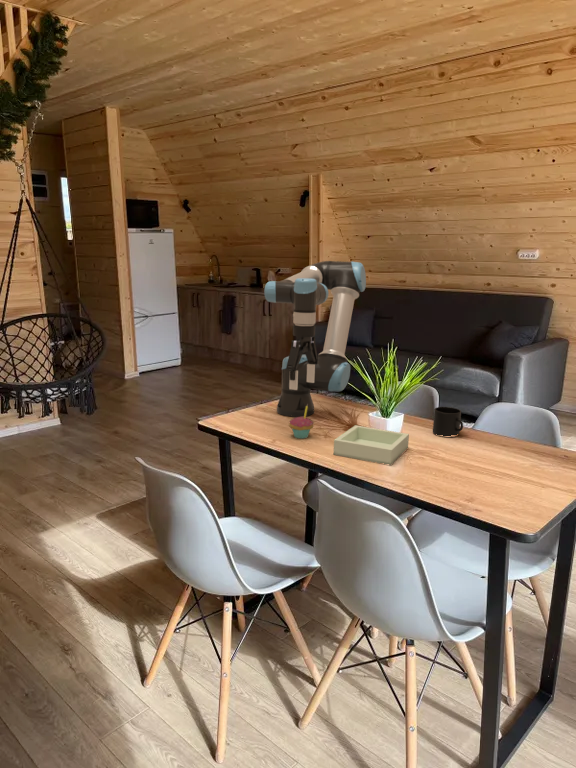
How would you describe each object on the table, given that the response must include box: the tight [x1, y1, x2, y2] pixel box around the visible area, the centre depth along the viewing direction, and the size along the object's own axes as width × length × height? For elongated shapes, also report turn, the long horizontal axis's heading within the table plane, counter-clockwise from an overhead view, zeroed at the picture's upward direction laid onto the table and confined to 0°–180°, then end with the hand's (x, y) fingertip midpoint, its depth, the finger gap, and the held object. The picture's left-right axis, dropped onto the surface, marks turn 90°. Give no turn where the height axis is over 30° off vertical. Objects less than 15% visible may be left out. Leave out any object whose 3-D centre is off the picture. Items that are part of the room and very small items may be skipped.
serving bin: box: [333, 424, 410, 466], centre depth 200 cm, size 19×19×5 cm
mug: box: [432, 406, 464, 436], centre depth 220 cm, size 9×12×9 cm
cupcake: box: [288, 404, 314, 439], centre depth 213 cm, size 9×8×12 cm
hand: (302, 385), depth 210 cm, fingers open, 13 cm apart
